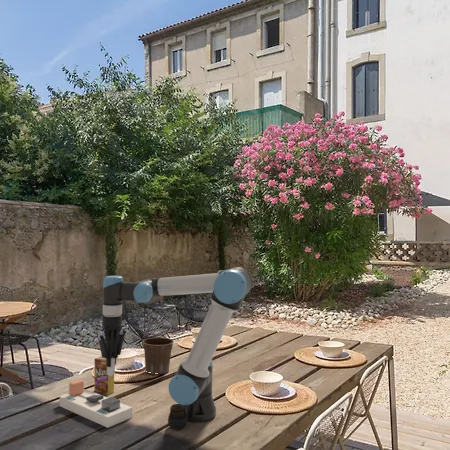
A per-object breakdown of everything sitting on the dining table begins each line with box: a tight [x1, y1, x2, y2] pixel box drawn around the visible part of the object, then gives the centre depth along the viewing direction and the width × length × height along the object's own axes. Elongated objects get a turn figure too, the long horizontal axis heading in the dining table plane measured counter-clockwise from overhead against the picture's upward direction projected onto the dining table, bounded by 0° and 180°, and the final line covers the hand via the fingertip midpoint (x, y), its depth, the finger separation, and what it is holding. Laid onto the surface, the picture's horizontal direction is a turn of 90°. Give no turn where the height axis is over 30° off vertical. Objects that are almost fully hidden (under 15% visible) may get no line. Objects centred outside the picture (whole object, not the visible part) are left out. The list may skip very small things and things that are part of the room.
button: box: [102, 396, 121, 413], centre depth 178 cm, size 5×5×4 cm
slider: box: [68, 379, 85, 396], centre depth 192 cm, size 3×5×5 cm, turn 143°
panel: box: [59, 388, 133, 429], centre depth 184 cm, size 32×12×4 cm, turn 53°
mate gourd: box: [167, 403, 188, 431], centre depth 171 cm, size 7×8×10 cm
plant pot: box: [142, 336, 175, 376], centre depth 235 cm, size 16×16×16 cm
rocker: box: [86, 394, 104, 402], centre depth 184 cm, size 6×4×2 cm, turn 53°
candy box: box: [93, 356, 115, 396], centre depth 206 cm, size 9×4×15 cm, turn 60°
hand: (110, 374), depth 178 cm, fingers closed
